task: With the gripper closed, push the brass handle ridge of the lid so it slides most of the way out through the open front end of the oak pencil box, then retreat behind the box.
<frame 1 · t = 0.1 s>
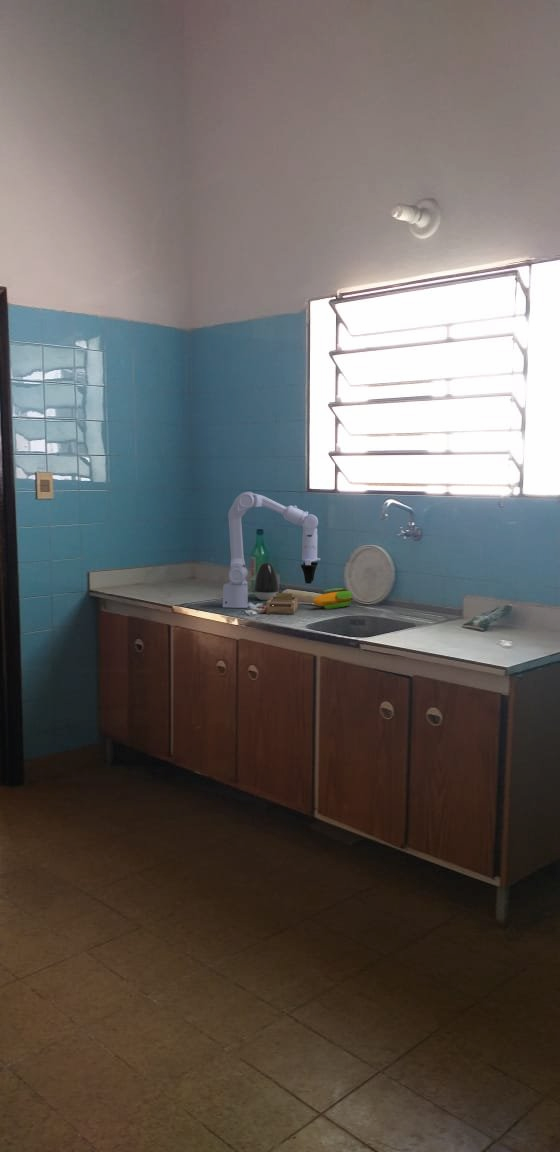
hand: (309, 582, 348), 10 cm above the counter, tool pointing down, fingers open, 7 cm apart
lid: (282, 599, 342), point 5 cm above the counter, slide at 0.0 cm
corn: (332, 608, 351), on the counter
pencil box: (282, 611, 342), on the counter
dark grey egg shape: (266, 600, 372), on the counter
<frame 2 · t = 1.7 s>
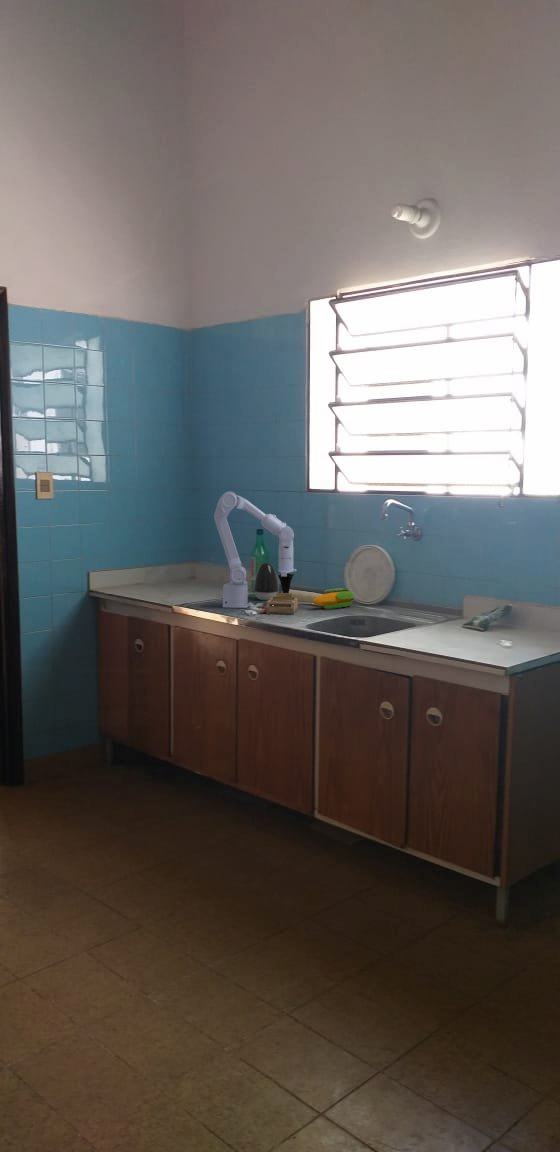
hand: (285, 593, 352), 5 cm above the counter, tool pointing down, fingers closed
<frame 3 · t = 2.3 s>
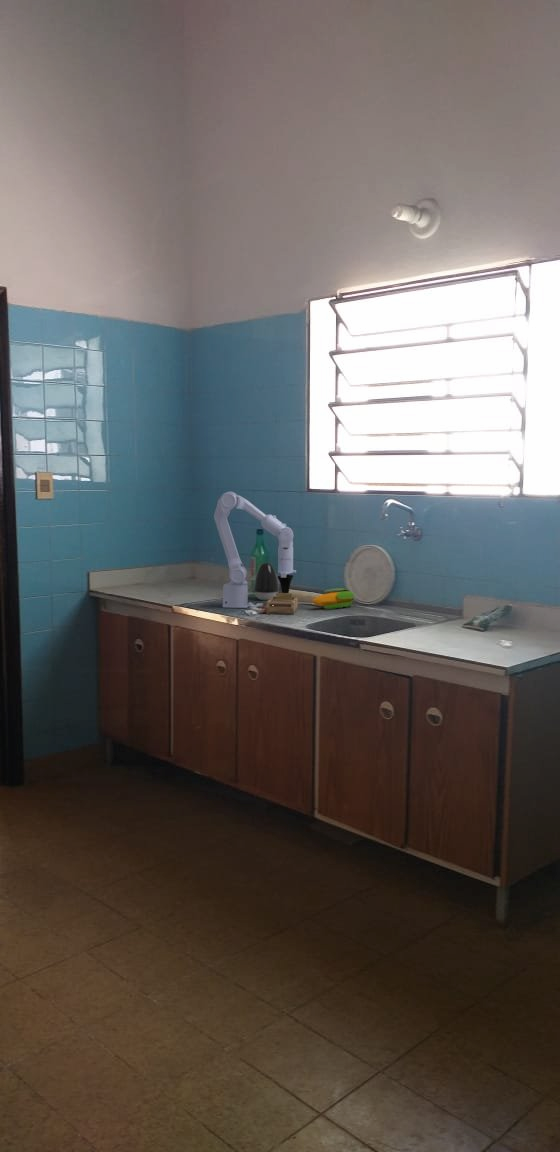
hand: (285, 594, 351), 5 cm above the counter, tool pointing down, fingers closed
nothing on the counter moved.
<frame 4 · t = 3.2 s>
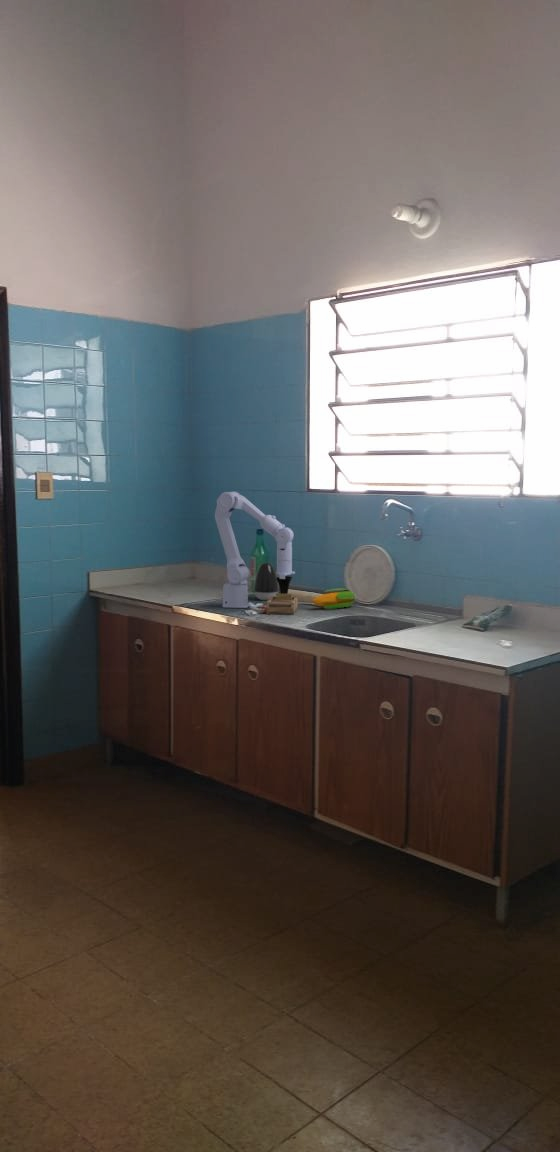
hand: (284, 595, 347), 5 cm above the counter, tool pointing down, fingers closed
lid: (282, 599, 341), point 5 cm above the counter, slide at 1.1 cm, touching gripper
everything else where it was.
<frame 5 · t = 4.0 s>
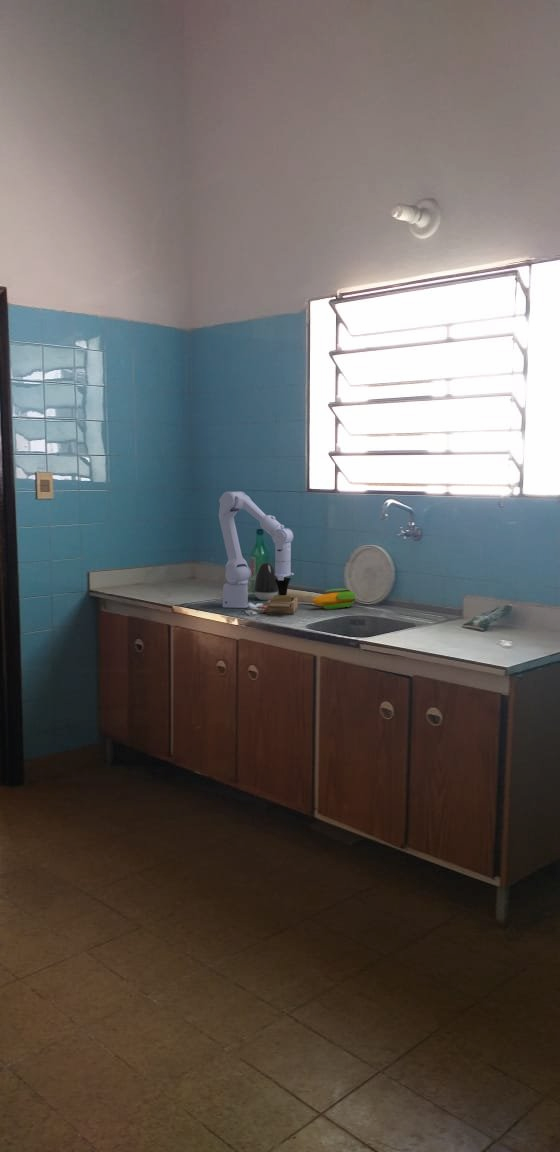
hand: (282, 597, 342), 5 cm above the counter, tool pointing down, fingers closed
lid: (280, 601, 336), point 5 cm above the counter, slide at 5.7 cm, touching gripper
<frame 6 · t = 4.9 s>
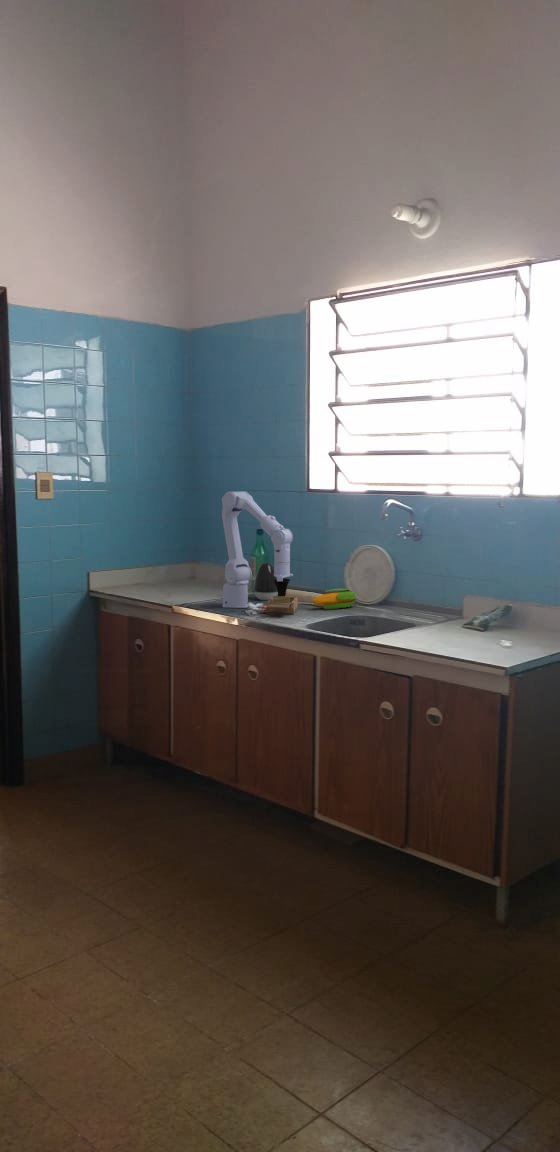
hand: (281, 598, 340), 5 cm above the counter, tool pointing down, fingers closed
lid: (279, 602, 333), point 5 cm above the counter, slide at 8.4 cm, touching gripper
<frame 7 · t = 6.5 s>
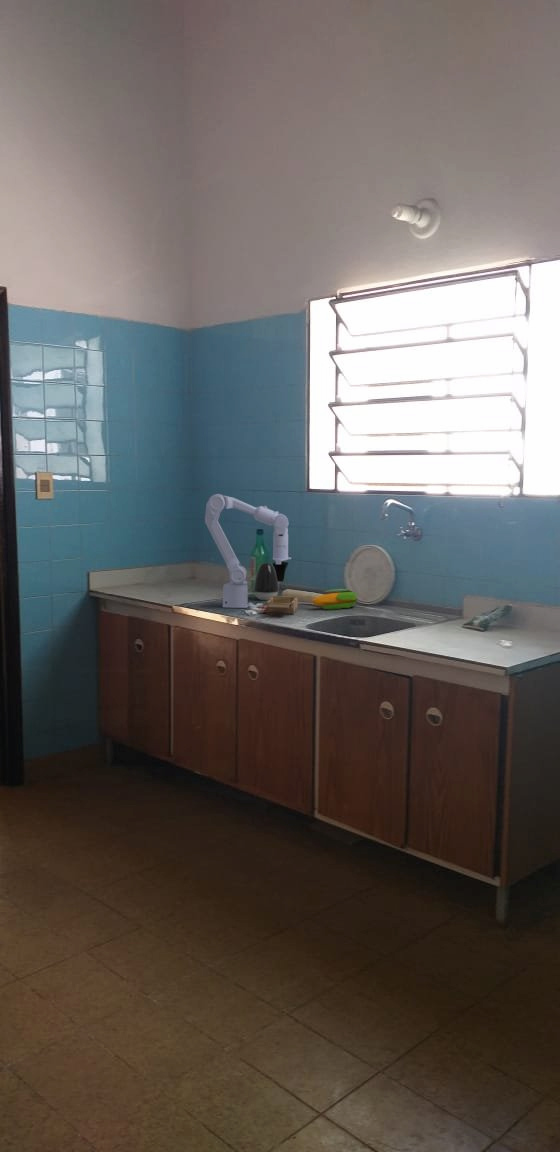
hand: (280, 581, 351), 10 cm above the counter, tool pointing down, fingers closed
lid: (279, 602, 333), point 5 cm above the counter, slide at 8.4 cm
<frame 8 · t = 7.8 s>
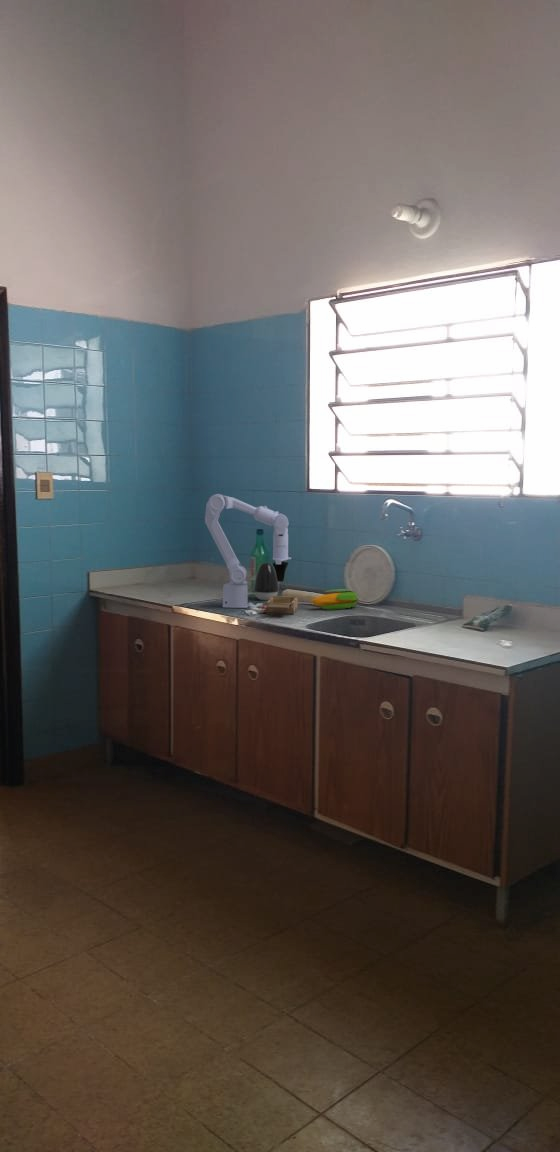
hand: (280, 581, 351), 10 cm above the counter, tool pointing down, fingers closed
at the end: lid slide at 8.4 cm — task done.
